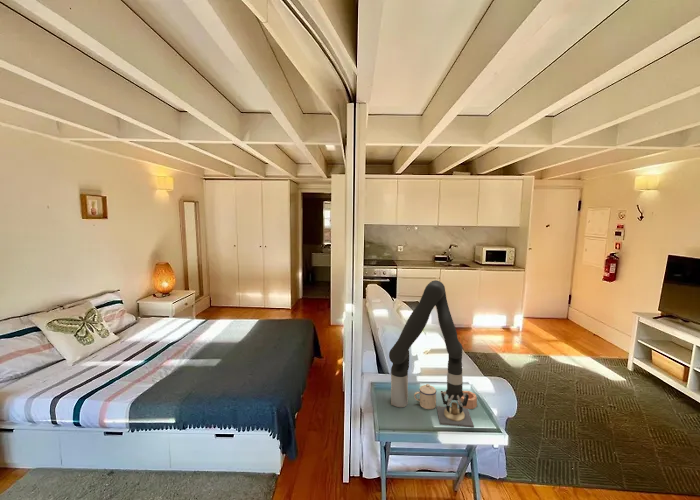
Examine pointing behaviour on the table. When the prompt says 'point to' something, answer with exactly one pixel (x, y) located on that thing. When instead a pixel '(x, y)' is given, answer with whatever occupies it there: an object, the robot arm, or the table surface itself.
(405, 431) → the table surface
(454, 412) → the lid
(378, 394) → the table surface
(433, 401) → the teacup with lid
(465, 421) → the mat
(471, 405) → the bowl
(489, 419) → the table surface
